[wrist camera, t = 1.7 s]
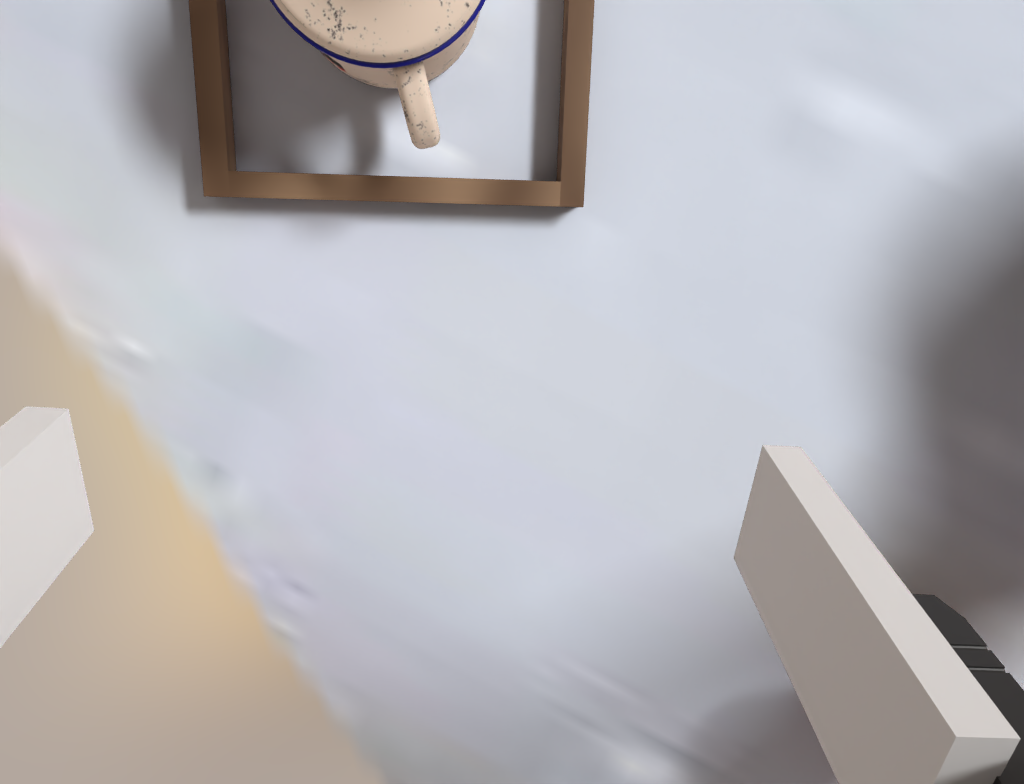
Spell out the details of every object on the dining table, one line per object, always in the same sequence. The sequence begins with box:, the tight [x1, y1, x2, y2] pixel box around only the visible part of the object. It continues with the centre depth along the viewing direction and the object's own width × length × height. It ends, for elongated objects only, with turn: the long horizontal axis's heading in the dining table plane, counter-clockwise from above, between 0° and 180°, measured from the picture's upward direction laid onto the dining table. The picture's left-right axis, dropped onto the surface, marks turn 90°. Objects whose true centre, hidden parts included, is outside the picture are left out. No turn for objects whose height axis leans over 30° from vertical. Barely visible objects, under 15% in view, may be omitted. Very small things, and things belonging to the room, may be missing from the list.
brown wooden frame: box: [189, 0, 594, 207], centre depth 35 cm, size 18×16×2 cm
